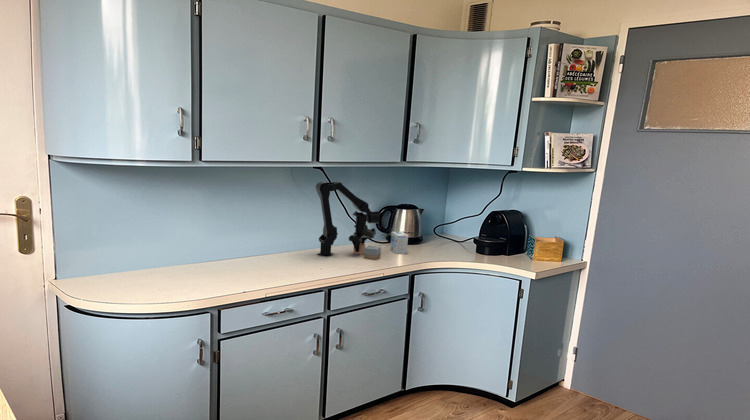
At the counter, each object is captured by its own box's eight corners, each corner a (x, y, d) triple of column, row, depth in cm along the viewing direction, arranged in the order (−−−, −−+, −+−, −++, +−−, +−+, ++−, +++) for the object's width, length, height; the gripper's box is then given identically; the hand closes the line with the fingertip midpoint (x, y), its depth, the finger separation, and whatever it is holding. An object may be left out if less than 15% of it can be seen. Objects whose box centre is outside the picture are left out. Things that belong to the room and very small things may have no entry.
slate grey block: (376, 255, 264) (377, 249, 263) (364, 253, 266) (364, 248, 265) (380, 252, 270) (380, 247, 270) (368, 250, 272) (368, 245, 272)
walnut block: (376, 260, 264) (376, 255, 264) (363, 258, 266) (364, 253, 266) (380, 258, 271) (380, 252, 270) (368, 256, 273) (368, 250, 272)
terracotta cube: (361, 254, 274) (362, 245, 273) (353, 253, 276) (353, 244, 275) (364, 252, 279) (365, 244, 278) (356, 251, 280) (357, 242, 280)
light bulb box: (389, 249, 290) (391, 231, 289) (400, 249, 292) (402, 231, 291) (396, 254, 280) (397, 235, 278) (407, 253, 282) (408, 235, 281)
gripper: (368, 228, 263) (366, 256, 266) (380, 222, 281) (378, 249, 283) (349, 225, 267) (347, 253, 269) (361, 220, 284) (360, 247, 287)
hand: (359, 251), depth 277 cm, fingers open, 6 cm apart
